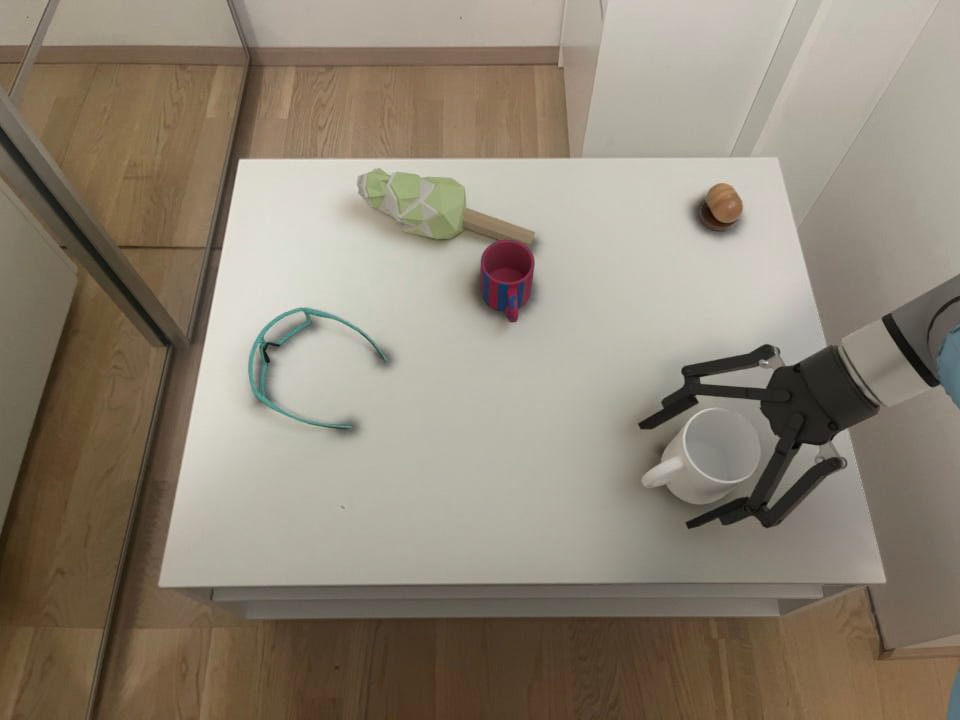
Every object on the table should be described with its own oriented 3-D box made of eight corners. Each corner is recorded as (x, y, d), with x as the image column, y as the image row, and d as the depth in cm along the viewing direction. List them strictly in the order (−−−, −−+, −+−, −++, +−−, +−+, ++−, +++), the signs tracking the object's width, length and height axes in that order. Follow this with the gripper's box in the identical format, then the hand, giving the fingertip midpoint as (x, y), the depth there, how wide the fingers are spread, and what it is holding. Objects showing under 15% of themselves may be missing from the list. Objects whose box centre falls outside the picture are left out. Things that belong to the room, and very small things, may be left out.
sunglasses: (291, 307, 88) (285, 289, 83) (394, 351, 87) (394, 335, 82) (235, 399, 82) (224, 384, 77) (344, 447, 81) (340, 435, 76)
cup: (529, 268, 90) (533, 239, 84) (532, 334, 86) (536, 308, 80) (480, 268, 90) (480, 239, 84) (480, 334, 86) (480, 308, 80)
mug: (647, 526, 76) (670, 505, 66) (618, 459, 79) (637, 430, 70) (741, 493, 77) (777, 468, 68) (709, 429, 81) (739, 397, 71)
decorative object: (540, 207, 94) (370, 146, 92) (544, 216, 85) (356, 148, 83) (519, 265, 97) (354, 208, 95) (520, 280, 88) (338, 216, 86)
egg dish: (743, 227, 93) (757, 204, 89) (710, 237, 93) (722, 215, 88) (723, 196, 96) (736, 172, 91) (691, 205, 95) (702, 182, 90)
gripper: (942, 490, 60) (731, 572, 72) (805, 281, 70) (638, 384, 81) (929, 495, 55) (702, 584, 66) (782, 267, 64) (606, 380, 76)
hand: (667, 474), depth 74 cm, fingers open, 11 cm apart
